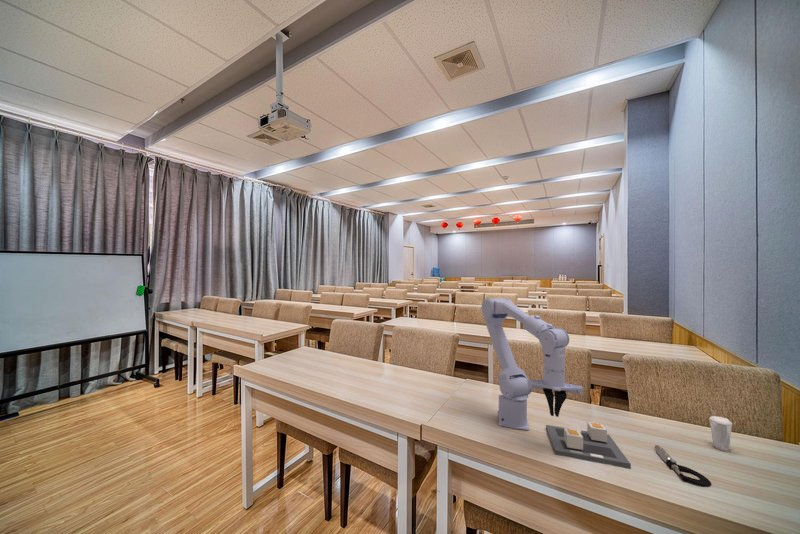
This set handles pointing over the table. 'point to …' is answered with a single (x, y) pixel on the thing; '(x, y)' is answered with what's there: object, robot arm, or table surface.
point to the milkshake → (720, 432)
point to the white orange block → (597, 431)
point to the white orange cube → (573, 438)
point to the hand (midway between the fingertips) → (554, 414)
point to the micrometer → (682, 469)
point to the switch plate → (588, 448)
